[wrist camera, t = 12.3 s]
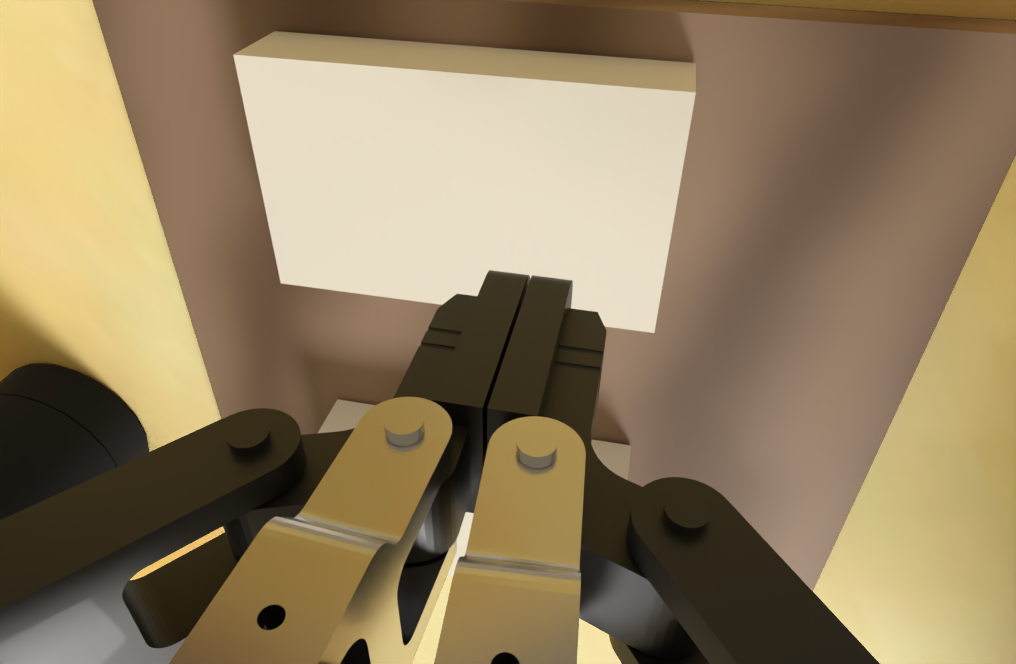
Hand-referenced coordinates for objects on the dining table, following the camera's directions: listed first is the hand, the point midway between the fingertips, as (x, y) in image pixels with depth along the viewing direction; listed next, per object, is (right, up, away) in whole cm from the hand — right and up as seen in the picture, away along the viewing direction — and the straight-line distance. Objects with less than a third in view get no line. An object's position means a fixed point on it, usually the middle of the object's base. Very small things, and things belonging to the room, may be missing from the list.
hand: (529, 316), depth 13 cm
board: (0, 0, +10) cm, 10 cm away
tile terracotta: (+3, +3, +4) cm, 6 cm away
